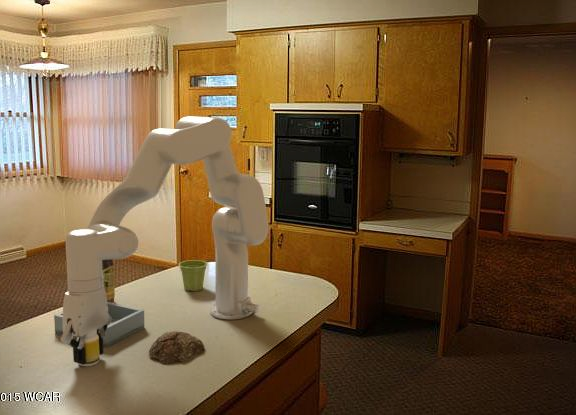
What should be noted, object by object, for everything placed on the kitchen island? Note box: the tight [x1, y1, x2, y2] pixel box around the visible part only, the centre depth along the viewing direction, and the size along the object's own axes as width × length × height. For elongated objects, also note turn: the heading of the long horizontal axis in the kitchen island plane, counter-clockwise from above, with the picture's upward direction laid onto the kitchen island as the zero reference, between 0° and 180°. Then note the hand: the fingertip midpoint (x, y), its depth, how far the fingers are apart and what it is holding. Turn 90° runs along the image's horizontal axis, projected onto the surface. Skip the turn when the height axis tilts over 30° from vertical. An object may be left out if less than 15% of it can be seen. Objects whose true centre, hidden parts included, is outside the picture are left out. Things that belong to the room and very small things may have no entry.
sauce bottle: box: [102, 259, 116, 303], centre depth 161 cm, size 7×6×20 cm
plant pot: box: [178, 259, 208, 292], centre depth 177 cm, size 9×9×9 cm
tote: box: [53, 302, 145, 348], centre depth 142 cm, size 18×14×5 cm
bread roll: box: [148, 330, 205, 365], centre depth 131 cm, size 13×12×5 cm
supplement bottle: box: [76, 329, 101, 367], centre depth 124 cm, size 5×5×8 cm
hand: (88, 357), depth 124 cm, fingers closed on supplement bottle, 4 cm apart
